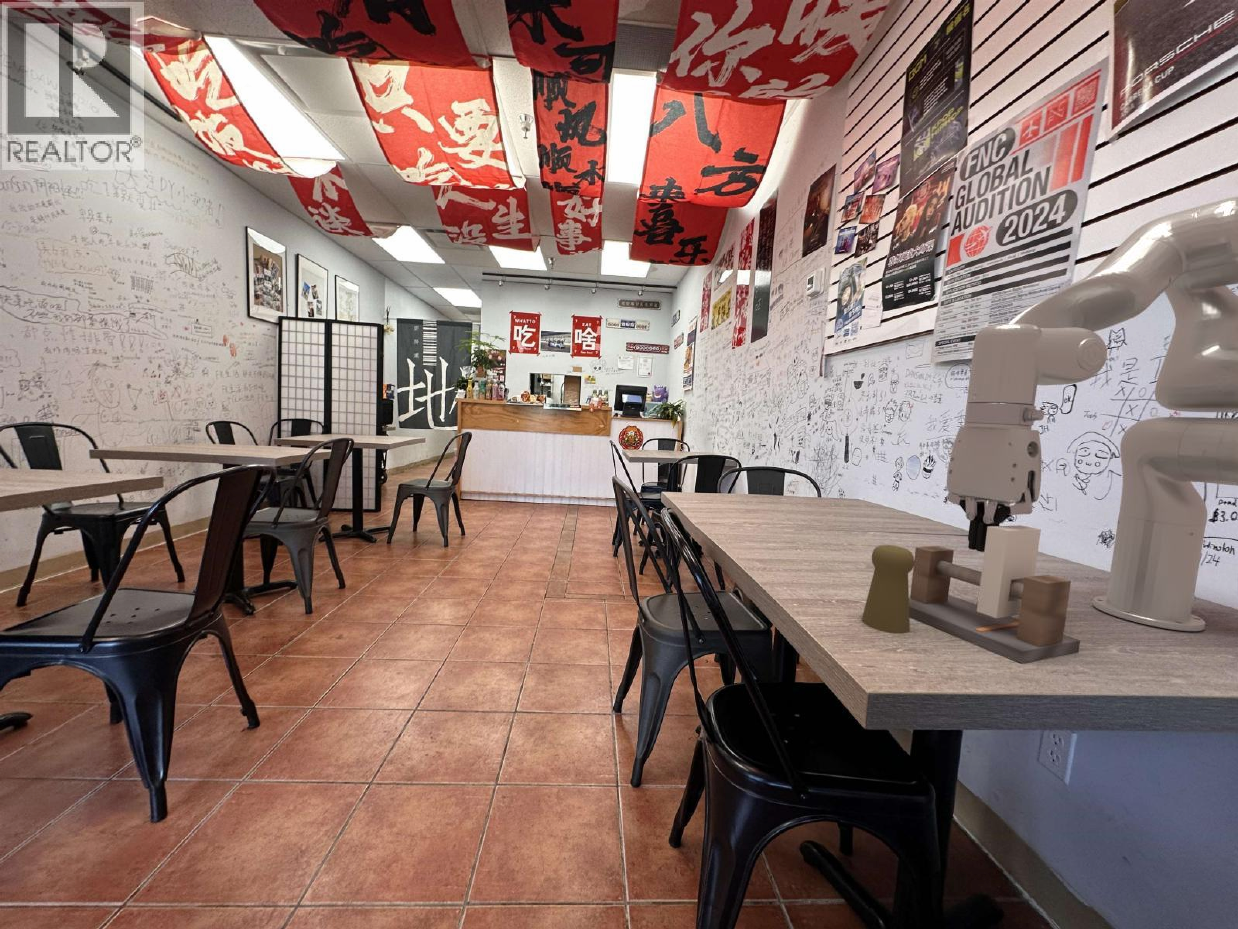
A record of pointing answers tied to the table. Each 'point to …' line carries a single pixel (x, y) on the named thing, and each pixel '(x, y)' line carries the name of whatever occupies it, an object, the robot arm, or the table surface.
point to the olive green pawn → (889, 590)
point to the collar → (1006, 567)
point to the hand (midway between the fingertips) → (981, 549)
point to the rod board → (1005, 636)
